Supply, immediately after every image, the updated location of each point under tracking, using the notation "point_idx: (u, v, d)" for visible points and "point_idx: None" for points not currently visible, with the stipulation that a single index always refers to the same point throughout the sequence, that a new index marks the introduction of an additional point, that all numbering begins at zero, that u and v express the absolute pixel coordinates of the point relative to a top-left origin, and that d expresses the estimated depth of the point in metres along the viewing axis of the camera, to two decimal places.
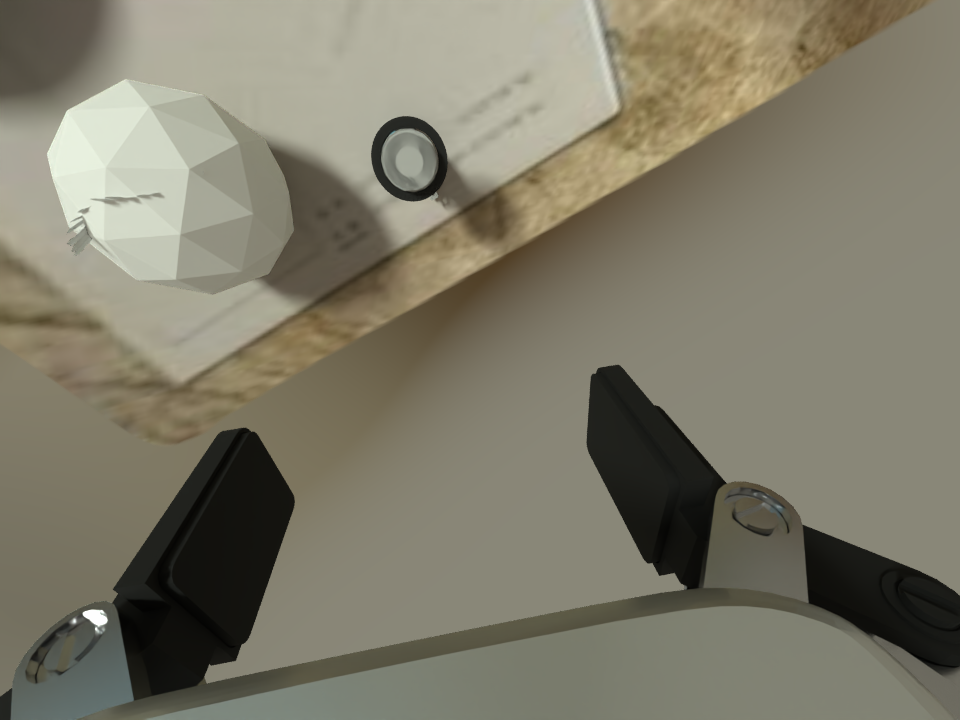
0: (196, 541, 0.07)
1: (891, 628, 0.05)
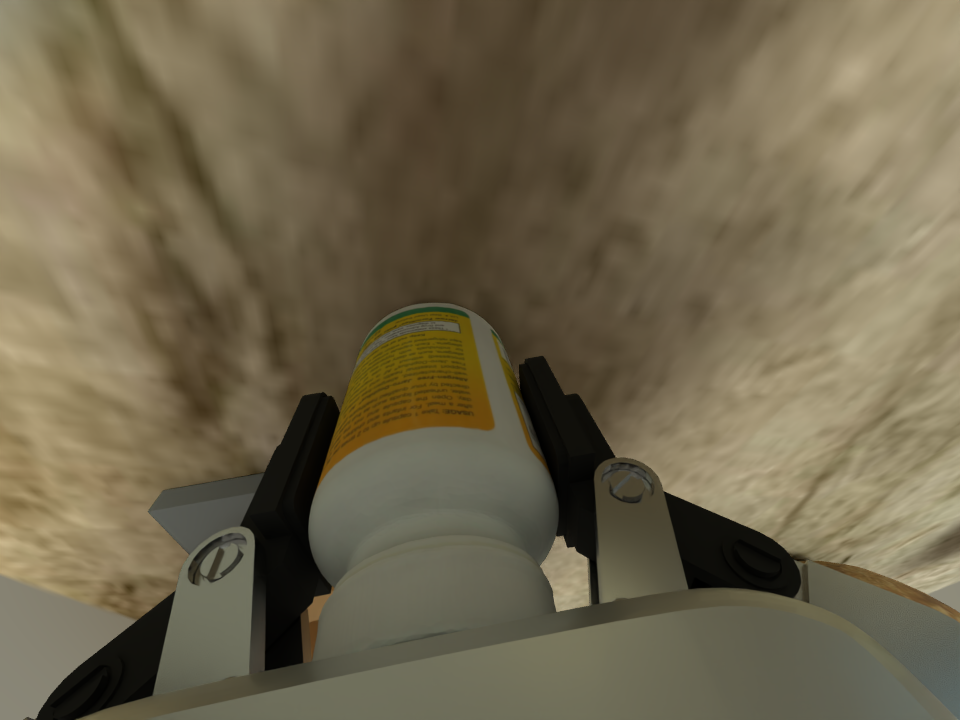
0: (305, 482, 0.08)
1: (722, 579, 0.06)
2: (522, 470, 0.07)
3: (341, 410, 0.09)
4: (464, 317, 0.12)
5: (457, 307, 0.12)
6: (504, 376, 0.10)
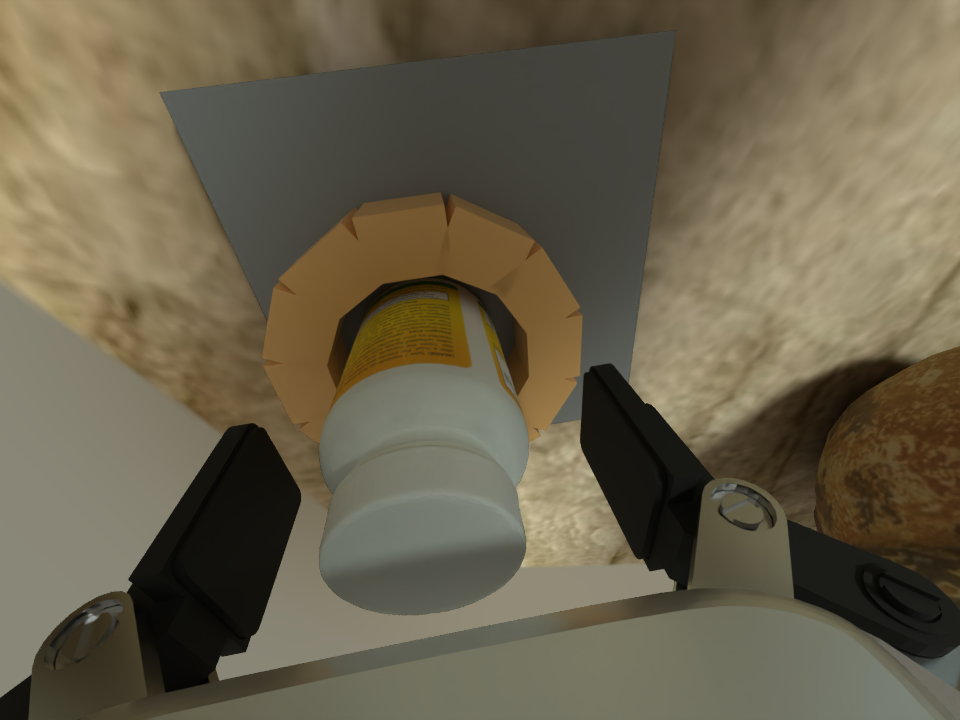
0: (209, 533, 0.07)
1: (871, 620, 0.05)
2: (493, 398, 0.08)
3: None
4: (452, 289, 0.13)
5: (447, 281, 0.14)
6: (485, 335, 0.11)
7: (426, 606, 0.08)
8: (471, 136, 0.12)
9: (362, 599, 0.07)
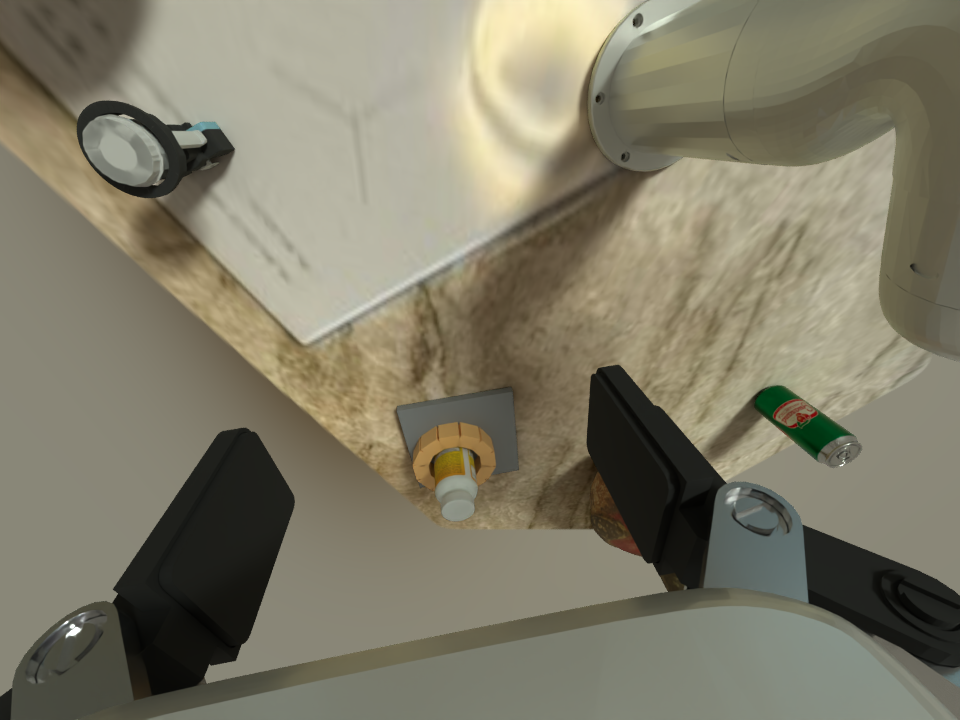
0: (197, 541, 0.07)
1: (890, 628, 0.05)
2: (469, 481, 0.45)
3: (436, 469, 0.47)
4: None
5: None
6: (468, 461, 0.48)
7: (457, 519, 0.44)
8: (465, 411, 0.48)
9: (447, 517, 0.44)
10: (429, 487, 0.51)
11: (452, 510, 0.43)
